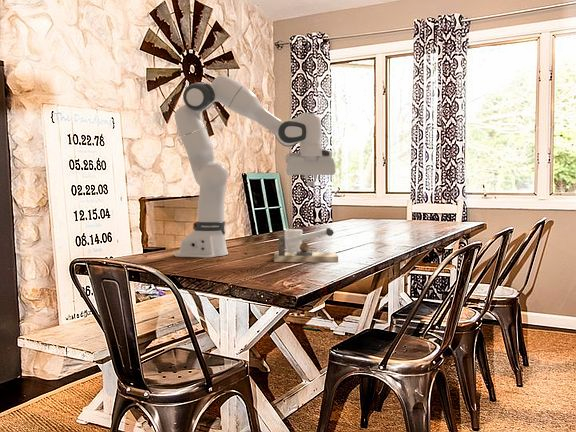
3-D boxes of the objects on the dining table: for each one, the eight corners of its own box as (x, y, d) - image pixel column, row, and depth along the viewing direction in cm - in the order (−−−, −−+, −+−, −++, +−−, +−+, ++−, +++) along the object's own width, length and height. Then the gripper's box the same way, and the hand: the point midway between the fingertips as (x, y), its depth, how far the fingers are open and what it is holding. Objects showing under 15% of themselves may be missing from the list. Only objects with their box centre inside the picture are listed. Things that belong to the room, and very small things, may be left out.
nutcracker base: (274, 261, 215) (273, 238, 214) (274, 257, 227) (274, 235, 226) (338, 261, 215) (338, 238, 214) (335, 257, 227) (335, 235, 226)
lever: (279, 247, 217) (278, 240, 217) (279, 244, 224) (278, 238, 224) (334, 235, 217) (332, 228, 217) (332, 233, 224) (331, 227, 223)
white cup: (300, 254, 235) (300, 231, 235) (282, 253, 237) (282, 230, 236) (304, 251, 243) (304, 229, 242) (286, 251, 245) (286, 228, 244)
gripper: (285, 152, 225) (285, 186, 226) (335, 152, 225) (335, 186, 226) (285, 152, 231) (285, 186, 232) (334, 152, 231) (334, 185, 232)
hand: (310, 186), depth 229 cm, fingers closed
